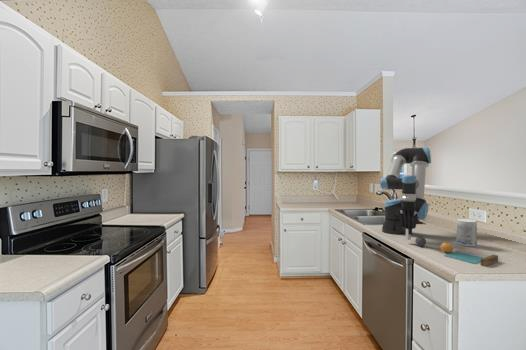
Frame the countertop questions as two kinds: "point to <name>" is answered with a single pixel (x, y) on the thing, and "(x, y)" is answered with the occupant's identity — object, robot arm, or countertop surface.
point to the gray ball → (420, 241)
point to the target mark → (465, 257)
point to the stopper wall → (489, 260)
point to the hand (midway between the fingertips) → (408, 239)
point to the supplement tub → (467, 232)
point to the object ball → (446, 247)
